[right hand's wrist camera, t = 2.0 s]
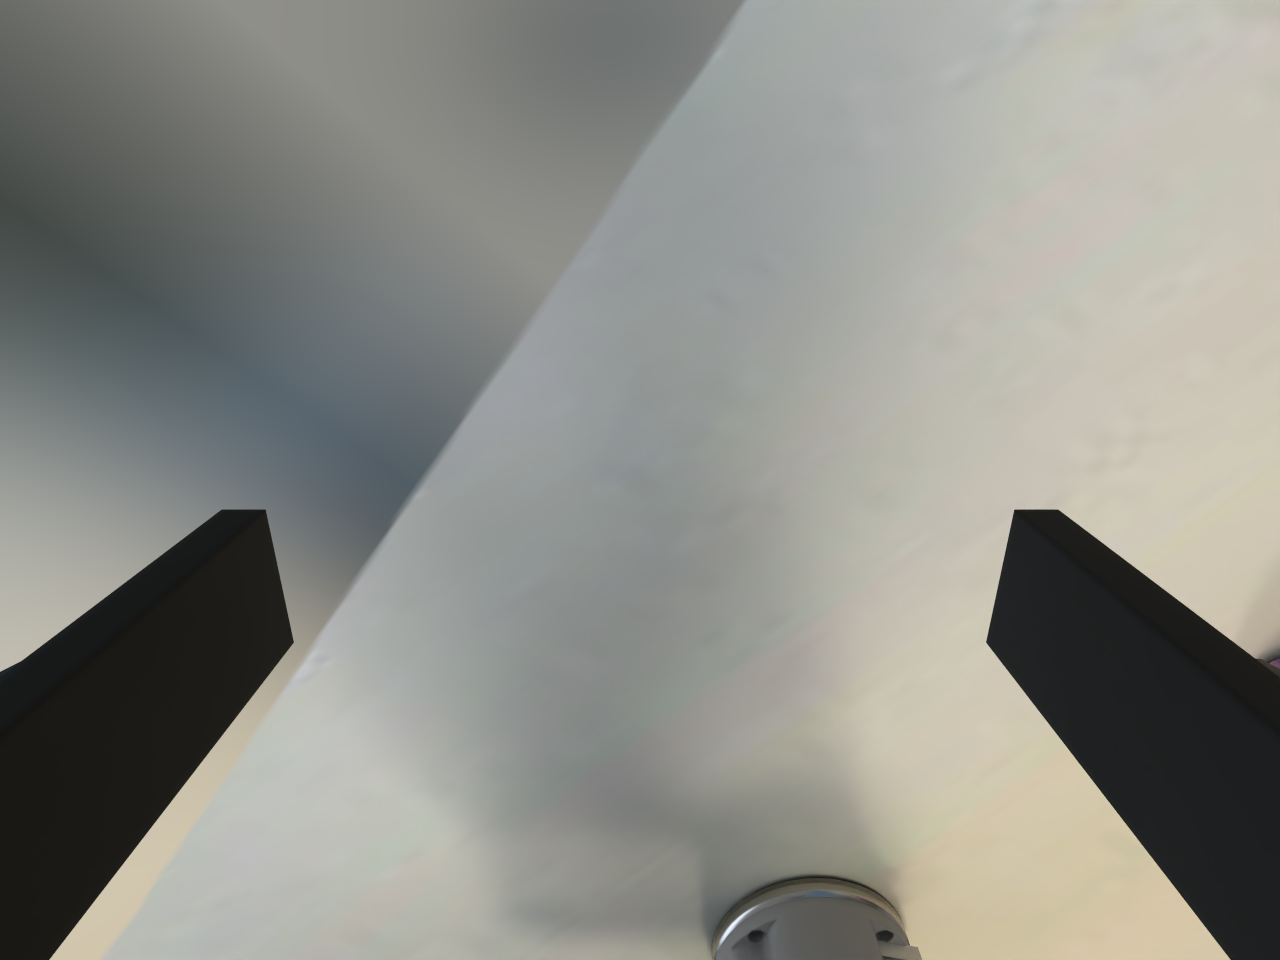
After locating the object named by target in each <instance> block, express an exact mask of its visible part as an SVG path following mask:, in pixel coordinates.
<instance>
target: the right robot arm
mask: <svg viewBox="0 0 1280 960" xmlns="http://www.w3.org/2000/svg"><path fill="white" fill-rule="evenodd" d="M293 643H294V641H293V637H292V632H291V627H290V623H289V618H288V613H287V608H286V604H285V599H284V594H283V590H282V585H281V580H280V575H279V571H278V566H277V561H276V557H275V552H274V547H273V542H272V538H271V533H270V528H269V524H268V519H267V514H266V510H221V511H219V512H218V513H217V514H215V515H214V516H213V517H211V518H210V519H209V520H208V521H206V522H205V523H204V524H202V525H201V526H200V527H198V528H197V529H196V530H194V531H193V532H192V533H190V534H189V535H188V536H186V537H185V538H184V539H182V540H181V541H180V542H178V543H177V544H176V545H174V546H173V547H172V548H171V549H169V550H168V551H167V552H165V553H164V554H163V555H161V556H160V557H159V558H157V559H156V560H155V561H153V562H152V563H151V564H149V565H148V566H147V567H145V568H144V569H143V570H141V571H140V572H139V573H137V574H136V575H135V576H133V577H132V578H131V579H129V580H128V581H127V582H126V583H124V584H123V585H122V586H120V587H119V588H118V589H116V590H115V591H114V592H112V593H111V594H110V595H108V596H107V597H106V598H104V599H103V600H102V601H100V602H99V603H98V604H96V605H95V606H94V607H93V608H91V609H90V610H88V611H87V612H86V613H85V614H83V615H82V616H81V617H79V618H78V619H77V620H75V621H74V622H73V623H71V624H70V625H69V626H67V627H66V628H65V629H63V630H62V631H61V632H59V633H58V634H57V635H55V636H54V637H53V638H51V639H50V640H49V641H48V642H46V643H45V644H44V645H42V646H41V647H40V648H38V649H37V650H36V651H34V652H33V653H32V654H30V655H29V656H28V657H26V658H25V659H24V660H22V661H21V662H19V663H17V664H15V665H13V666H11V667H9V668H7V669H5V670H3V671H1V672H0V960H49V959H50V958H51V957H52V955H53V954H54V953H55V951H56V950H57V949H58V948H59V946H60V945H61V944H62V942H63V941H64V940H65V939H66V937H67V936H68V935H69V933H70V932H71V931H72V929H73V928H74V927H75V926H76V924H77V923H78V922H79V920H80V919H81V918H82V916H83V915H84V914H85V913H86V911H87V910H88V909H89V907H90V906H91V905H92V904H93V902H94V901H95V900H96V898H97V897H98V896H99V894H100V893H101V892H102V890H103V889H104V888H105V887H106V885H107V884H108V883H109V881H110V880H111V879H112V878H113V876H114V875H115V874H116V872H117V871H118V870H119V868H120V867H121V866H122V865H123V863H124V862H125V861H126V859H127V858H128V857H129V856H130V854H131V853H132V852H133V850H134V849H135V848H136V846H137V845H138V844H139V843H140V841H141V840H142V839H143V837H144V836H145V835H146V833H147V832H148V831H149V830H150V828H151V827H152V826H153V824H154V823H155V822H156V821H157V819H158V818H159V817H160V815H161V814H162V813H163V811H164V810H165V809H166V808H167V806H168V805H169V804H170V802H171V801H172V800H173V798H174V797H175V796H176V795H177V793H178V792H179V791H180V789H181V788H182V787H183V785H184V784H185V783H186V782H187V780H188V779H189V778H190V776H191V775H192V774H193V773H194V771H195V770H196V769H197V767H198V766H199V765H200V763H201V762H202V761H203V759H204V758H205V757H206V756H207V754H208V753H209V752H210V750H211V749H212V748H213V747H214V745H215V744H216V743H217V741H218V740H219V739H220V738H221V736H222V735H223V734H224V732H225V731H226V730H227V728H228V727H229V726H230V725H231V723H232V722H233V721H234V719H235V718H236V717H237V715H238V714H239V713H240V712H241V710H242V709H243V708H244V706H245V705H246V704H247V702H248V701H249V700H250V699H251V697H252V696H253V695H254V693H255V692H256V691H257V690H258V688H259V687H260V686H261V684H262V683H263V682H264V680H265V679H266V678H267V677H268V675H269V674H270V673H271V671H272V670H273V669H274V667H275V666H276V665H277V664H278V662H279V661H280V660H281V658H282V657H283V656H284V654H285V653H286V652H287V650H288V649H289V648H290V647H291V645H292V644H293ZM986 643H987V644H988V645H989V647H990V648H991V649H992V651H993V652H994V653H995V654H996V656H997V657H998V658H999V660H1000V661H1001V662H1002V664H1003V665H1004V666H1005V667H1006V669H1007V670H1008V671H1009V673H1010V674H1011V675H1012V677H1013V678H1014V679H1015V680H1016V682H1017V683H1018V684H1019V686H1020V687H1021V688H1022V690H1023V691H1024V692H1025V693H1026V695H1027V696H1028V697H1029V699H1030V700H1031V701H1032V702H1033V704H1034V705H1035V706H1036V708H1037V709H1038V710H1039V712H1040V713H1041V714H1042V715H1043V717H1044V718H1045V719H1046V721H1047V722H1048V723H1049V725H1050V726H1051V727H1052V728H1053V730H1054V731H1055V732H1056V734H1057V735H1058V736H1059V738H1060V739H1061V740H1062V741H1063V743H1064V744H1065V745H1066V747H1067V748H1068V749H1069V750H1070V752H1071V753H1072V754H1073V756H1074V757H1075V758H1076V760H1077V761H1078V762H1079V763H1080V765H1081V766H1082V767H1083V769H1084V770H1085V771H1086V773H1087V774H1088V775H1089V776H1090V778H1091V779H1092V780H1093V782H1094V783H1095V784H1096V786H1097V787H1098V788H1099V789H1100V791H1101V792H1102V793H1103V795H1104V796H1105V797H1106V798H1107V800H1108V801H1109V802H1110V804H1111V805H1112V806H1113V808H1114V809H1115V810H1116V811H1117V813H1118V814H1119V815H1120V817H1121V818H1122V819H1123V821H1124V822H1125V823H1126V824H1127V826H1128V827H1129V828H1130V830H1131V831H1132V832H1133V833H1134V835H1135V836H1136V837H1137V839H1138V840H1139V841H1140V843H1141V844H1142V845H1143V846H1144V848H1145V849H1146V850H1147V852H1148V853H1149V854H1150V856H1151V857H1152V858H1153V859H1154V861H1155V862H1156V863H1157V865H1158V866H1159V867H1160V869H1161V870H1162V871H1163V872H1164V874H1165V875H1166V876H1167V878H1168V879H1169V880H1170V881H1171V883H1172V884H1173V885H1174V887H1175V888H1176V889H1177V891H1178V892H1179V893H1180V894H1181V896H1182V897H1183V898H1184V900H1185V901H1186V902H1187V904H1188V905H1189V906H1190V907H1191V909H1192V910H1193V911H1194V913H1195V914H1196V915H1197V917H1198V918H1199V919H1200V920H1201V922H1202V923H1203V924H1204V926H1205V927H1206V928H1207V929H1208V931H1209V932H1210V933H1211V935H1212V936H1213V937H1214V939H1215V940H1216V941H1217V942H1218V944H1219V945H1220V946H1221V948H1222V949H1223V950H1224V952H1225V953H1226V954H1227V955H1228V957H1229V958H1230V959H1231V960H1280V669H1279V668H1277V667H1275V666H1273V665H1271V664H1269V663H1267V662H1265V661H1263V660H1261V659H1255V658H1254V657H1252V656H1251V655H1250V654H1248V653H1247V652H1246V651H1244V650H1243V649H1242V648H1240V647H1239V646H1238V645H1236V644H1235V643H1234V642H1232V641H1231V640H1230V639H1229V638H1227V637H1226V636H1225V635H1223V634H1222V633H1221V632H1219V631H1218V630H1217V629H1215V628H1214V627H1213V626H1211V625H1210V624H1209V623H1207V622H1206V621H1205V620H1203V619H1202V618H1201V617H1199V616H1198V615H1197V614H1195V613H1194V612H1193V611H1192V610H1190V609H1189V608H1188V607H1186V606H1185V605H1184V604H1182V603H1181V602H1180V601H1178V600H1177V599H1176V598H1174V597H1173V596H1172V595H1170V594H1169V593H1168V592H1166V591H1165V590H1164V589H1162V588H1161V587H1160V586H1158V585H1157V584H1156V583H1154V582H1153V581H1152V580H1151V579H1149V578H1148V577H1147V576H1145V575H1144V574H1143V573H1141V572H1140V571H1139V570H1137V569H1136V568H1135V567H1133V566H1132V565H1131V564H1129V563H1128V562H1127V561H1125V560H1124V559H1123V558H1121V557H1120V556H1119V555H1117V554H1116V553H1115V552H1114V551H1112V550H1111V549H1110V548H1108V547H1107V546H1106V545H1104V544H1103V543H1102V542H1100V541H1099V540H1098V539H1096V538H1095V537H1094V536H1092V535H1091V534H1090V533H1088V532H1087V531H1086V530H1084V529H1083V528H1082V527H1080V526H1079V525H1078V524H1076V523H1075V522H1074V521H1073V520H1071V519H1070V518H1069V517H1067V516H1066V515H1065V514H1063V513H1062V512H1061V511H1059V510H1014V514H1013V519H1012V524H1011V528H1010V533H1009V538H1008V542H1007V547H1006V552H1005V557H1004V561H1003V566H1002V571H1001V575H1000V580H999V585H998V589H997V594H996V599H995V604H994V608H993V613H992V618H991V622H990V627H989V632H988V637H987V641H986ZM712 959H713V960H922V958H921V955H920V952H919V950H918V947H913V946H910V944H909V941H908V938H907V935H906V933H905V930H904V927H903V924H902V922H901V919H900V917H899V915H898V914H897V912H896V911H895V909H894V908H893V907H892V906H891V905H890V904H889V903H888V902H887V901H886V900H885V899H884V898H882V897H881V896H879V895H878V894H876V893H875V892H873V891H871V890H869V889H867V888H865V887H862V886H860V885H857V884H854V883H850V882H847V881H842V880H836V879H827V878H806V879H797V880H791V881H786V882H782V883H778V884H775V885H772V886H769V887H766V888H764V889H761V890H759V891H757V892H755V893H753V894H751V895H750V896H748V897H746V898H745V899H743V900H742V901H741V902H739V903H738V904H737V905H735V906H734V907H733V908H732V909H731V910H730V911H729V912H728V913H727V914H726V915H725V917H724V918H723V919H722V921H721V922H720V924H719V926H718V927H717V930H716V932H715V934H714V938H713V943H712Z"/></svg>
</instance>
